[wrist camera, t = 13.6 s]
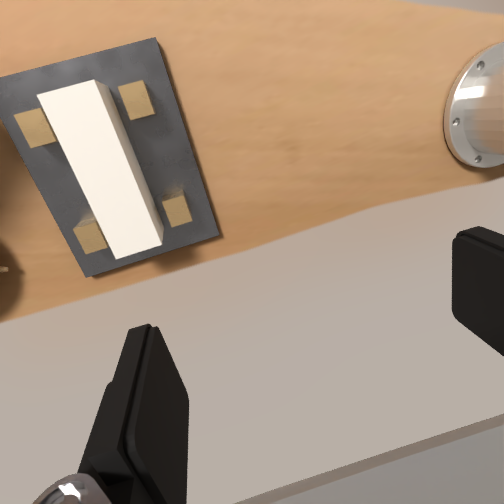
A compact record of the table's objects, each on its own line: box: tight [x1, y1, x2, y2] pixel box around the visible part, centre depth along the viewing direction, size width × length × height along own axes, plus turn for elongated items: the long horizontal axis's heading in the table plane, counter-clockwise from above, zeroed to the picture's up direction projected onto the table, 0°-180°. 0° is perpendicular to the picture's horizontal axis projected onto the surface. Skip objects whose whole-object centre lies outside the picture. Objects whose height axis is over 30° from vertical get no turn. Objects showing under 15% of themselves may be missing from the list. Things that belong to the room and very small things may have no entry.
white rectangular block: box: [37, 80, 164, 259], centre depth 28 cm, size 4×13×5 cm, turn 15°
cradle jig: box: [0, 37, 219, 278], centre depth 29 cm, size 14×18×4 cm
